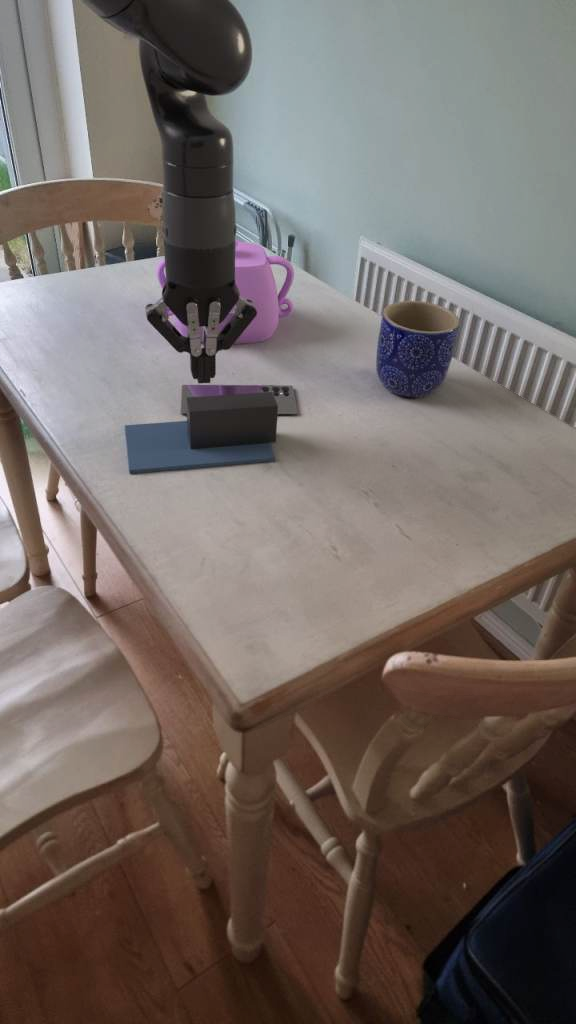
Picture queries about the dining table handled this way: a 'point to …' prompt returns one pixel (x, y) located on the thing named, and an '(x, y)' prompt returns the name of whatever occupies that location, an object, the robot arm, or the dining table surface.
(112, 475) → the dining table surface
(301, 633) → the dining table surface
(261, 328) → the teapot
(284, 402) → the smartphone
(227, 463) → the mat
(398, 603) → the dining table surface
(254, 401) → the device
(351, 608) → the dining table surface
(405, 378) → the planter
